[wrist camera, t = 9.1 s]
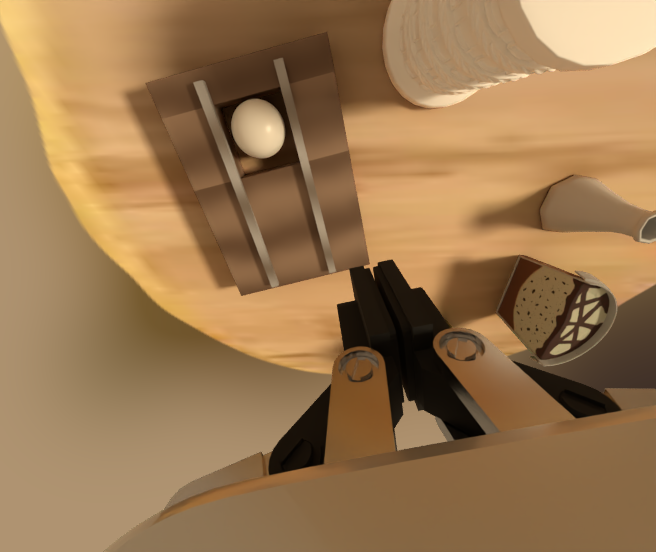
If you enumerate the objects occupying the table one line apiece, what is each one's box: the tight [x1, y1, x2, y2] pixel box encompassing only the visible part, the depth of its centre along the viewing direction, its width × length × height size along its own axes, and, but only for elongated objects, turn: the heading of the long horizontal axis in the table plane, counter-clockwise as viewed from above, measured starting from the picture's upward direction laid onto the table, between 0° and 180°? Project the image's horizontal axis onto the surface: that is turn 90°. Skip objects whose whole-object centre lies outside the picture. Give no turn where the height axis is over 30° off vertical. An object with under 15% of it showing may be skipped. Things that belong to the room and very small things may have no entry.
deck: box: [146, 32, 370, 296], centre depth 29 cm, size 22×16×4 cm
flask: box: [540, 175, 656, 244], centre depth 30 cm, size 7×7×10 cm
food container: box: [496, 255, 617, 366], centre depth 36 cm, size 12×6×10 cm, turn 176°
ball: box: [231, 99, 285, 158], centre depth 26 cm, size 5×5×5 cm
